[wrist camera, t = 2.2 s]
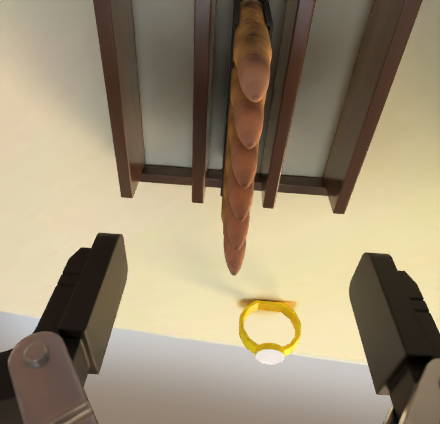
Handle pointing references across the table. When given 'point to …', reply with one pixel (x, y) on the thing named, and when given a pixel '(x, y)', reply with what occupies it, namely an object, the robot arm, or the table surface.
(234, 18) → the ammunition clip
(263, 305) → the watch
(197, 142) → the slotted rack
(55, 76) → the table surface
